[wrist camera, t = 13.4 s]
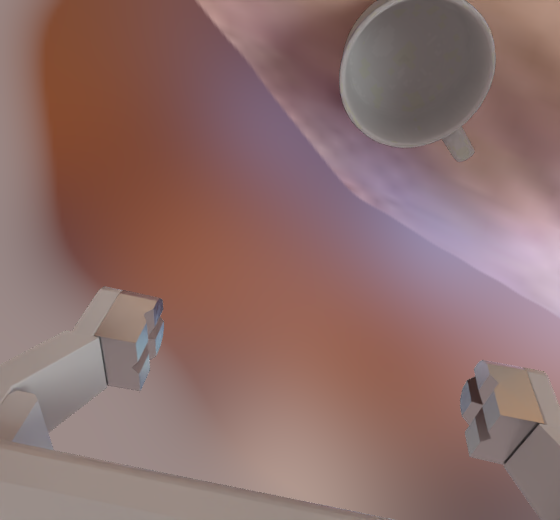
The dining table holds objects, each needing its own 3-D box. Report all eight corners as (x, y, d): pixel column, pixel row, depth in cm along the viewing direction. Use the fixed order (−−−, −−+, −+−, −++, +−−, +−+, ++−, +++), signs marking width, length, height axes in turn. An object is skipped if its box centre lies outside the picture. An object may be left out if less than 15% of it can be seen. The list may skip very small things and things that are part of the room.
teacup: (321, 18, 39) (313, 43, 33) (453, -55, 35) (473, -43, 29) (383, 158, 46) (386, 200, 40) (500, 111, 42) (524, 150, 36)
